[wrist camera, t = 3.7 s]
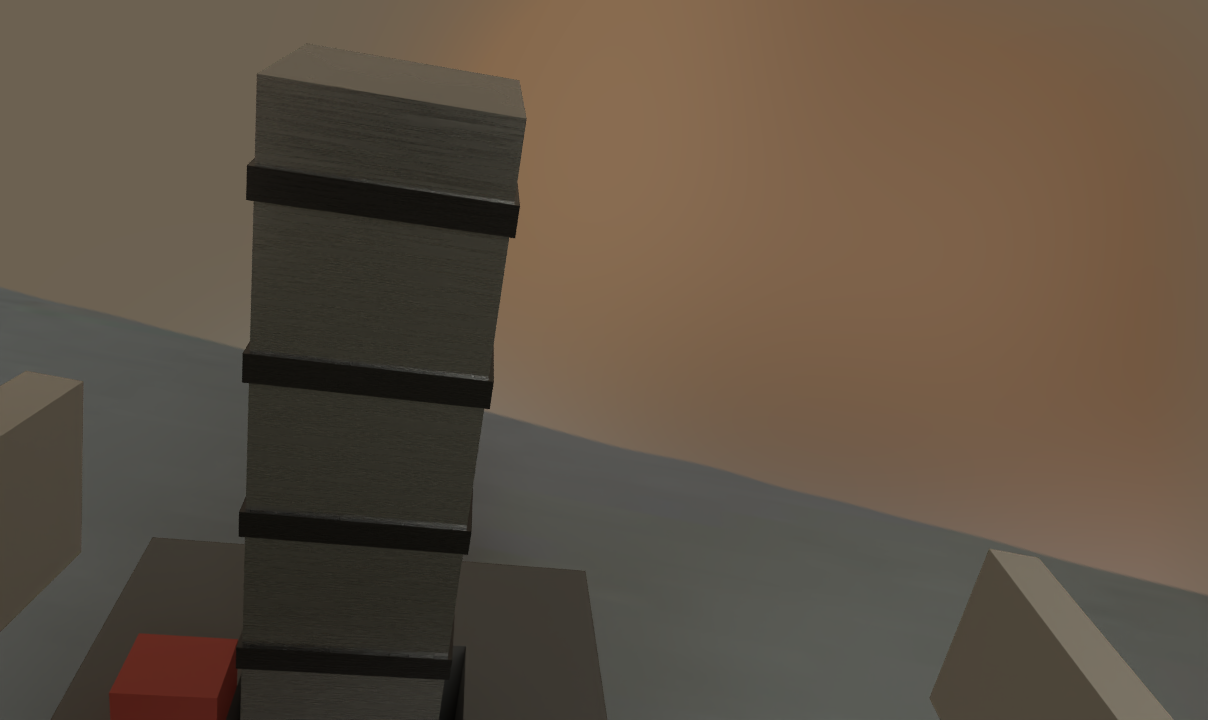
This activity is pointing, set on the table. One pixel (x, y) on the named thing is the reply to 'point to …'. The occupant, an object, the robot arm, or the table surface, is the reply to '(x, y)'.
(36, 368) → the table surface
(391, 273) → the column
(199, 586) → the stand
